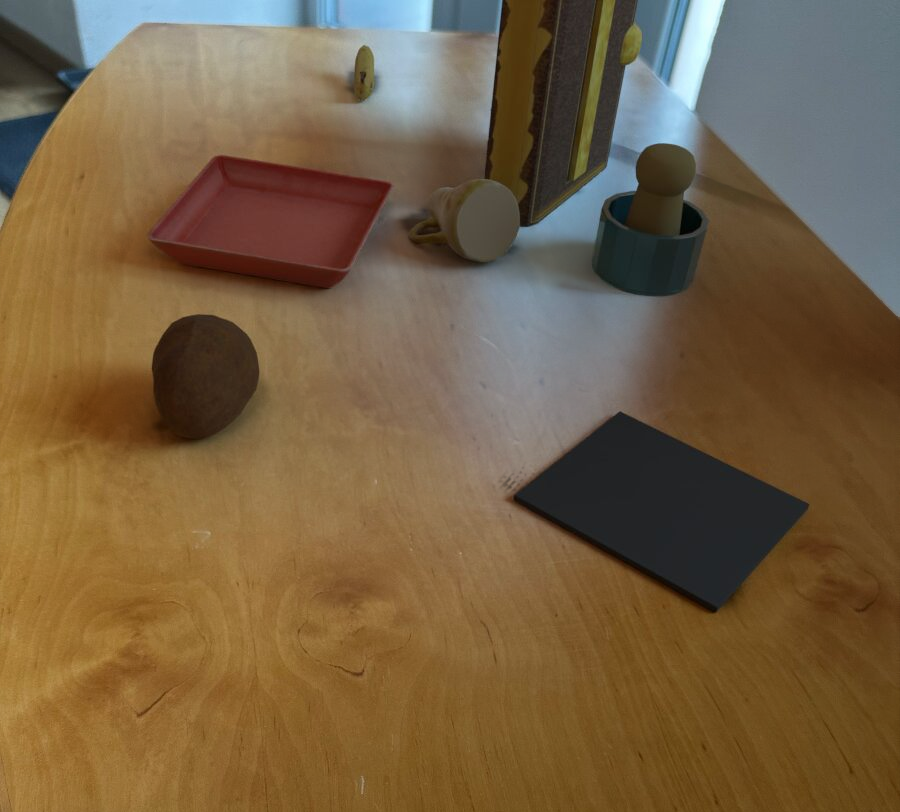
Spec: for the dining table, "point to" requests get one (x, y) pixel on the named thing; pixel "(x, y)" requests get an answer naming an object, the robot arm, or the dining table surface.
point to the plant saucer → (271, 220)
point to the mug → (472, 219)
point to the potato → (203, 374)
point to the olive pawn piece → (661, 189)
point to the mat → (664, 508)
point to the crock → (647, 250)
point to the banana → (364, 73)
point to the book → (556, 96)
